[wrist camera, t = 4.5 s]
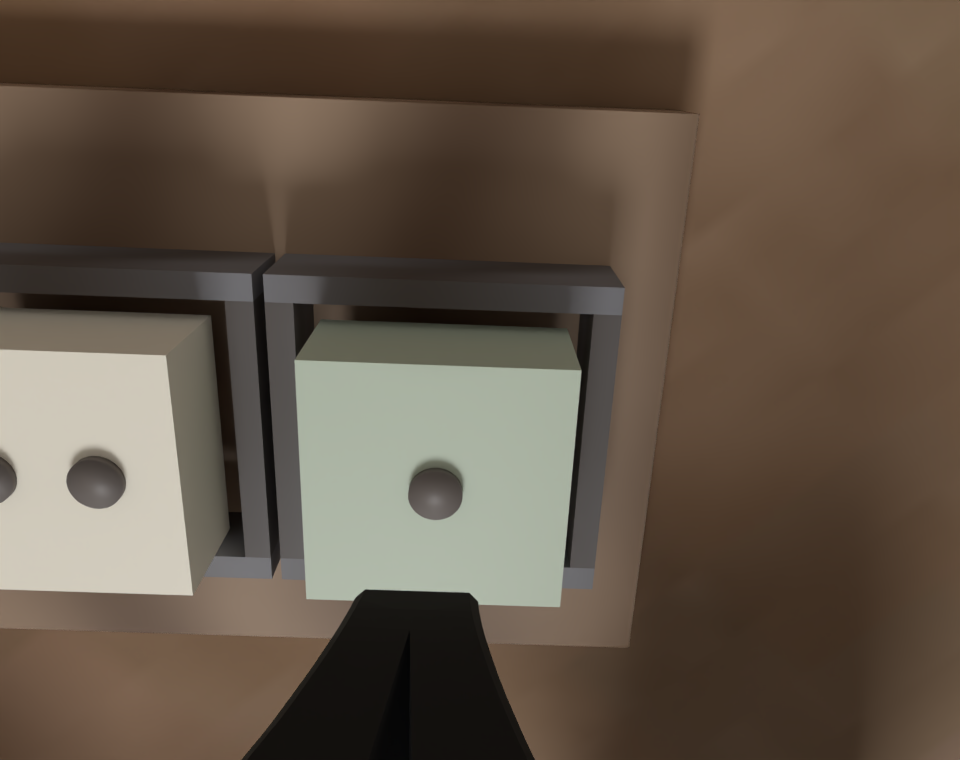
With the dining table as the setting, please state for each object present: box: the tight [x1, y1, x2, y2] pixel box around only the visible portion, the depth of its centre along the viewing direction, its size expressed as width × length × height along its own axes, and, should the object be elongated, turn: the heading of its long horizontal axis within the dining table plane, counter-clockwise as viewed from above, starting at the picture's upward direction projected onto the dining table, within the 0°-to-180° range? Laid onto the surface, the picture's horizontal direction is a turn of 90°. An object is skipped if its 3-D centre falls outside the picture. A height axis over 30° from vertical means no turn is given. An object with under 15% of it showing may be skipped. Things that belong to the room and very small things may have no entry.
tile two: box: [0, 307, 230, 596], centre depth 14 cm, size 4×4×2 cm
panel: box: [0, 83, 699, 648], centre depth 16 cm, size 22×12×3 cm, turn 88°
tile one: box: [294, 319, 582, 607], centre depth 14 cm, size 4×4×2 cm
